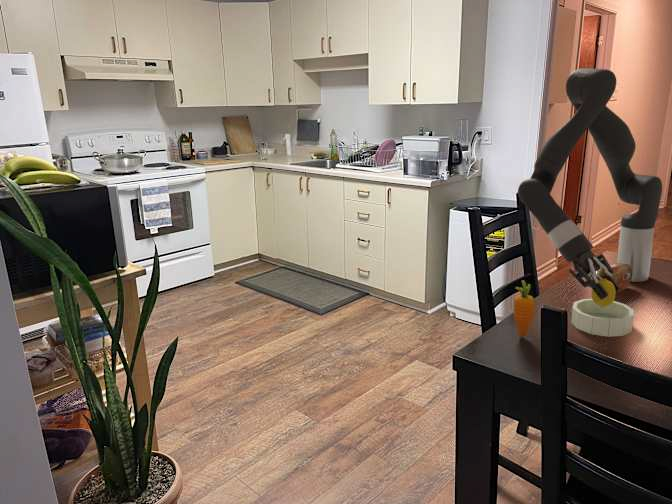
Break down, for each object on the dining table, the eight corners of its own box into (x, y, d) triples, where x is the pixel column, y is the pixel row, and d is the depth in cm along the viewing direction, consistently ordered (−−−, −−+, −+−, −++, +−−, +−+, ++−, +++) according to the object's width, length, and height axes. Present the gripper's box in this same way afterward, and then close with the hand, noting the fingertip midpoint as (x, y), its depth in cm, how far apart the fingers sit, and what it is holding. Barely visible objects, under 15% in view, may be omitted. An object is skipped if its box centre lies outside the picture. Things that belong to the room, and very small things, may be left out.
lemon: (616, 312, 129) (620, 282, 127) (593, 311, 130) (596, 282, 128) (610, 303, 134) (613, 275, 132) (587, 303, 135) (590, 275, 133)
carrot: (530, 343, 125) (533, 286, 121) (509, 339, 128) (512, 284, 124) (534, 335, 129) (538, 280, 125) (514, 332, 132) (517, 277, 128)
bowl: (592, 309, 142) (593, 294, 141) (643, 326, 131) (645, 310, 130) (560, 322, 136) (561, 307, 134) (610, 341, 124) (612, 324, 123)
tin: (599, 298, 150) (602, 271, 148) (590, 295, 153) (592, 268, 151) (631, 287, 157) (634, 261, 154) (622, 285, 159) (624, 259, 157)
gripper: (565, 238, 129) (608, 294, 123) (594, 227, 137) (636, 280, 131) (544, 254, 134) (585, 308, 128) (573, 243, 142) (613, 294, 136)
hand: (610, 294), depth 130 cm, fingers closed on lemon, 5 cm apart
